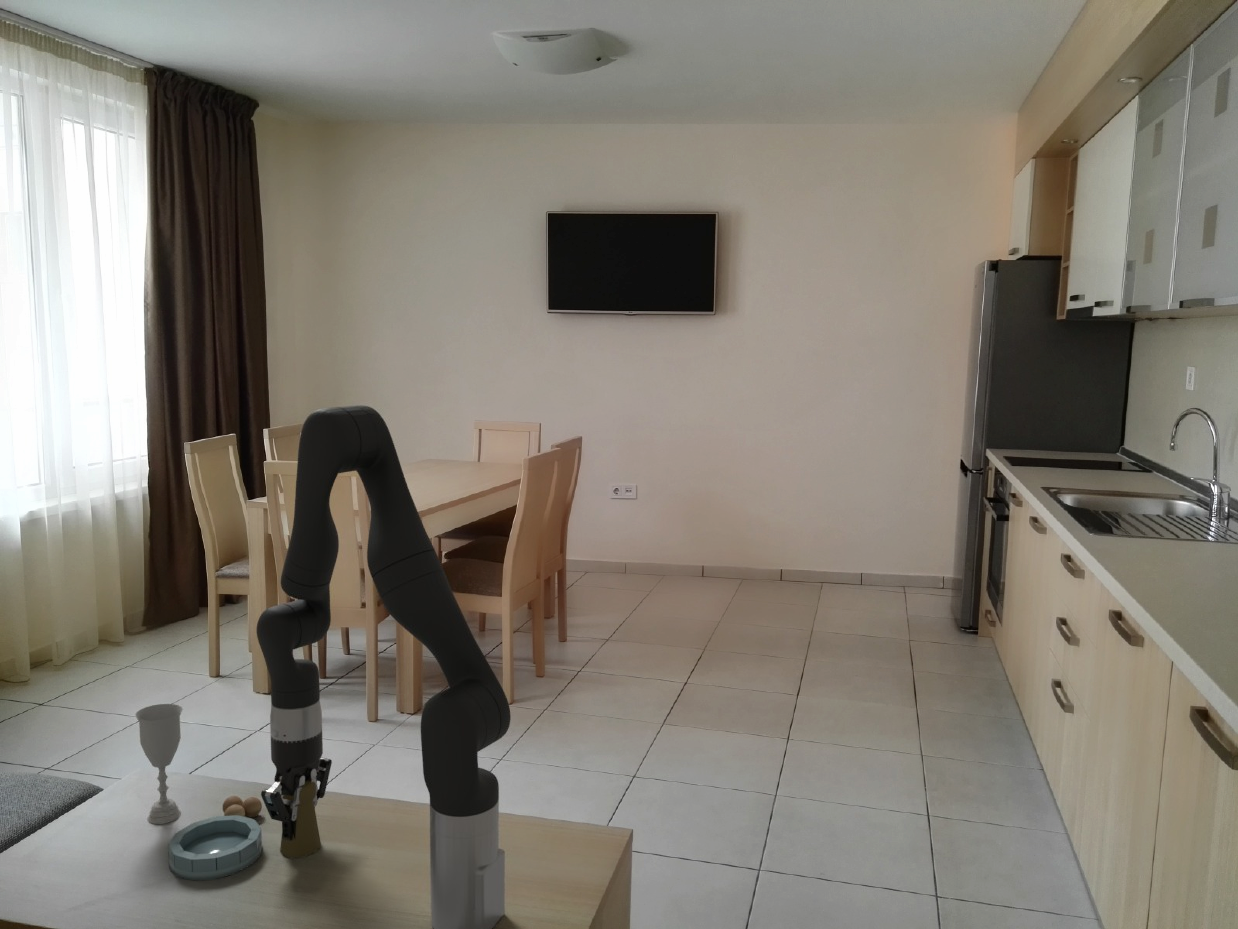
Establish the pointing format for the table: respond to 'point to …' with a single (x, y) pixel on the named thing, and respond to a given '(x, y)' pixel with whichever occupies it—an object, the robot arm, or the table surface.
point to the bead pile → (242, 807)
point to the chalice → (161, 752)
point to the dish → (215, 847)
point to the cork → (303, 825)
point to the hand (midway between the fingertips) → (299, 834)
